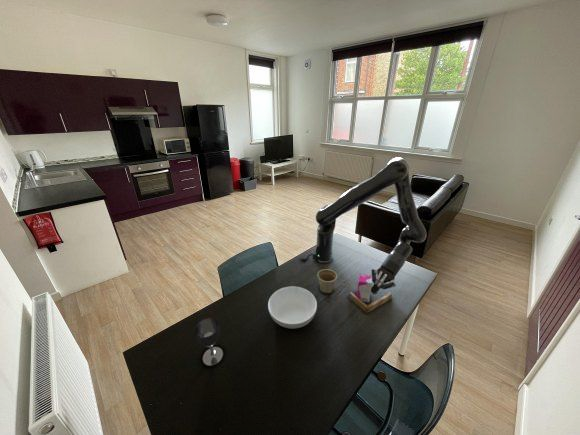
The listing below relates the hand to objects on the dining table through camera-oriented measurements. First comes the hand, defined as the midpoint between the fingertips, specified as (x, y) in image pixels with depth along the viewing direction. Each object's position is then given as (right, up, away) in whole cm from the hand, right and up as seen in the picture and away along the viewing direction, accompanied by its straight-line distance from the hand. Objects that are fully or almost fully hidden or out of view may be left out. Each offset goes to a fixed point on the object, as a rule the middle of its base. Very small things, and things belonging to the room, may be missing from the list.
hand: (372, 292), depth 110 cm
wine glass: (-66, -16, -23) cm, 72 cm away
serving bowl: (-37, -8, -6) cm, 38 cm away
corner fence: (0, -4, +3) cm, 4 cm away
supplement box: (-4, -3, +3) cm, 6 cm away
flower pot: (-20, -1, +9) cm, 22 cm away
